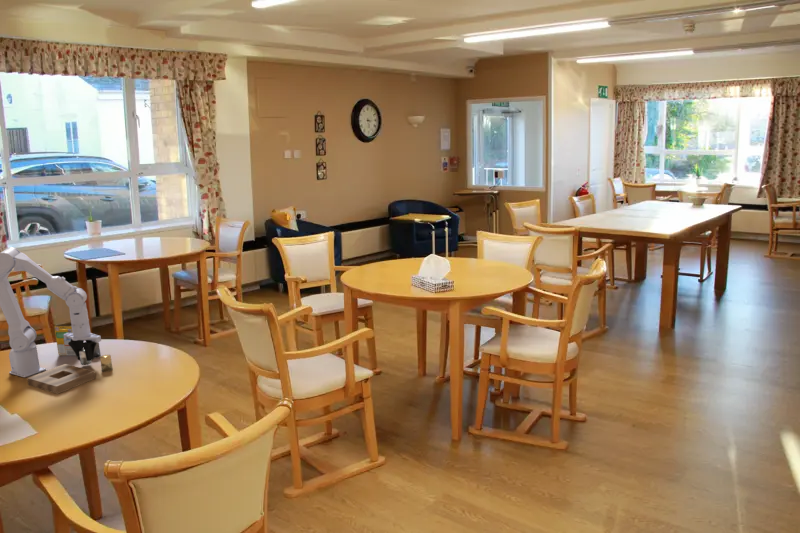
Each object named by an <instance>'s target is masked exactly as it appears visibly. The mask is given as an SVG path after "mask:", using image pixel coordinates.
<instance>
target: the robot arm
mask: <svg viewBox="0 0 800 533" xmlns="http://www.w3.org/2000/svg"><path fill="white" fill-rule="evenodd" d="M12 271H14V272H19V271H20V272H21V271H23V272H26V273H28V274H29V275H31V276H32V277H34V278H36V279H38V280H39V281H41V282H43V283H44V284H45V285H46V288H47V290H48V291H50V292H51V293H52V294H54V295H56V296H57V297H58V298H60V299H61V300H63V301H65V304H66V306H67V307H68V309H69V318H70V324H71V325H70V326H72V332H73V333H66V334H64V340H67V339H71V342H69V343H68V344H69V345H70V347H71V348H72V349H73V351H74V352H75V354H76V356H75V357H76V358H77V360H78V361H80V356H79V350H81V349H84V350H85V353H86V358H87V361H90V360H91V361H92V360H93V359H94V358H93V354H94V349H95V346H96V344H97V343H98V342H102V338H101V335H98V334H95V333H92V332H91V327H90V319H89V312H88V308H87V302H86V301H87V299H88V294H87V292H86V291H85V290H84V289H83V288H80V287H78V286H76V285H73V284H72V283H70V282H68V281H67V280H66V277H64V276H60V275H52V274H51V273H49V272H48V271H47V270H46V269H45V268H43V267H42V266H40V265H39V264H37V262H35V261H34V260H33V259H31V257H29V256H28V255H27V254H26V253H24V252H22V251H20V250H19V249H18V248H15V247H6V248H5V249H4V250H3V251H1V252H0V308H1V311H2V313H3V316H4V318H5V320H6V323H7V325H8V330H7V334H8V337H9V344H8V345H9V346H10V348H11V349H10V350H9V354H8V357H9V358H8V359H9V363H10V368H11V369H10V370H11V371H9V374H11V375H15V376H18V377H22V378H29V377H31V376H34V375H37V374H39V373H42V372H45V371H47V370H46V368H45V367H41V365H40V360H39V355H38V350H37V349H38V348H37V347H38V346H37V344H36V342H35V341H36V338H37V331H36V330H35V329H34V328H33V327H32V326H31V324H30V322H29V321H28V320H26V319H25V317H24V315H23V312H22V310H21V308H20V304H19V303H18V301H17V298H16V295H15V293H14V291H13V288H12V286H11V284H10V281H9V279H8V277H9V275H10V274H11V273H12Z"/></svg>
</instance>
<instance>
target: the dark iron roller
mask: <svg viewBox="0 0 800 533" xmlns="http://www.w3.org/2000/svg"><path fill="white" fill-rule="evenodd" d="M101 354H102V353H101V348H100V343H99V342H98V343H97V344H96V346H95V349H94V354H93V359H97V358H100V357H101V356H102V355H101Z"/></svg>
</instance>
